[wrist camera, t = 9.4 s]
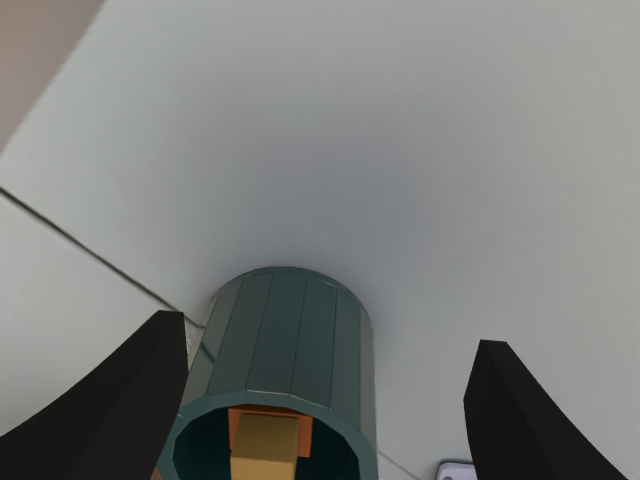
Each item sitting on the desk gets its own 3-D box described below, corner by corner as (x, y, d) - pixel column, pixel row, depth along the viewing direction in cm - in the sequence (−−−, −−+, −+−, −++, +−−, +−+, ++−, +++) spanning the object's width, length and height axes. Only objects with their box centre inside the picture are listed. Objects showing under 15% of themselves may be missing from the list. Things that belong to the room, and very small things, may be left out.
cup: (364, 403, 29) (365, 544, 22) (207, 388, 29) (163, 523, 22) (385, 275, 24) (394, 404, 18) (199, 257, 24) (141, 379, 18)
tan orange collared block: (322, 314, 25) (320, 352, 26) (254, 308, 25) (255, 346, 26) (308, 463, 18) (305, 505, 19) (215, 455, 18) (218, 497, 20)
